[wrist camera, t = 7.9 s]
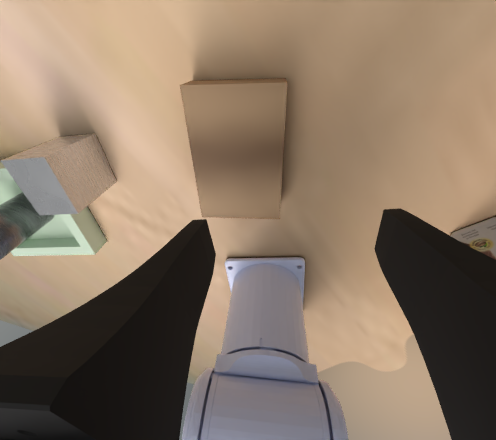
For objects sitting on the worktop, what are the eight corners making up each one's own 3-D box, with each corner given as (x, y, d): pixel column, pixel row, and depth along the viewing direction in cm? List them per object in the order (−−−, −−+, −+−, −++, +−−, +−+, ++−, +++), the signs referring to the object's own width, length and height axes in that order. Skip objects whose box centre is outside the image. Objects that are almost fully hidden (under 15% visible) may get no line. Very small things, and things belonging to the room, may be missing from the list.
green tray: (107, 240, 25) (95, 254, 23) (30, 243, 26) (13, 255, 24) (59, 156, 20) (39, 165, 18) (-35, 163, 21) (-61, 173, 19)
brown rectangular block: (278, 199, 21) (279, 219, 18) (210, 197, 21) (202, 217, 19) (285, 77, 15) (287, 82, 13) (194, 80, 16) (179, 85, 13)
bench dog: (116, 181, 20) (78, 213, 16) (85, 183, 21) (39, 215, 17) (95, 133, 18) (44, 157, 14) (60, 136, 19) (0, 160, 14)
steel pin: (60, 221, 23) (-10, 279, 17) (30, 220, 23) (-50, 277, 17) (42, 192, 21) (-43, 245, 15) (9, 191, 21) (-87, 243, 16)
